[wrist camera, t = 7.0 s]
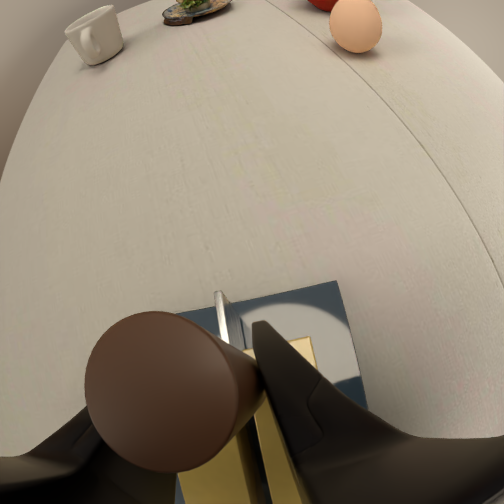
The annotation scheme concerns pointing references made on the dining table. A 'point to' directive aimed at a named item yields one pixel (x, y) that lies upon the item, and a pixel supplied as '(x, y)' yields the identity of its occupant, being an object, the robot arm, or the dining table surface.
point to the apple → (324, 4)
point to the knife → (172, 388)
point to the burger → (191, 10)
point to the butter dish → (296, 325)
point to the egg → (355, 25)
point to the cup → (96, 35)
